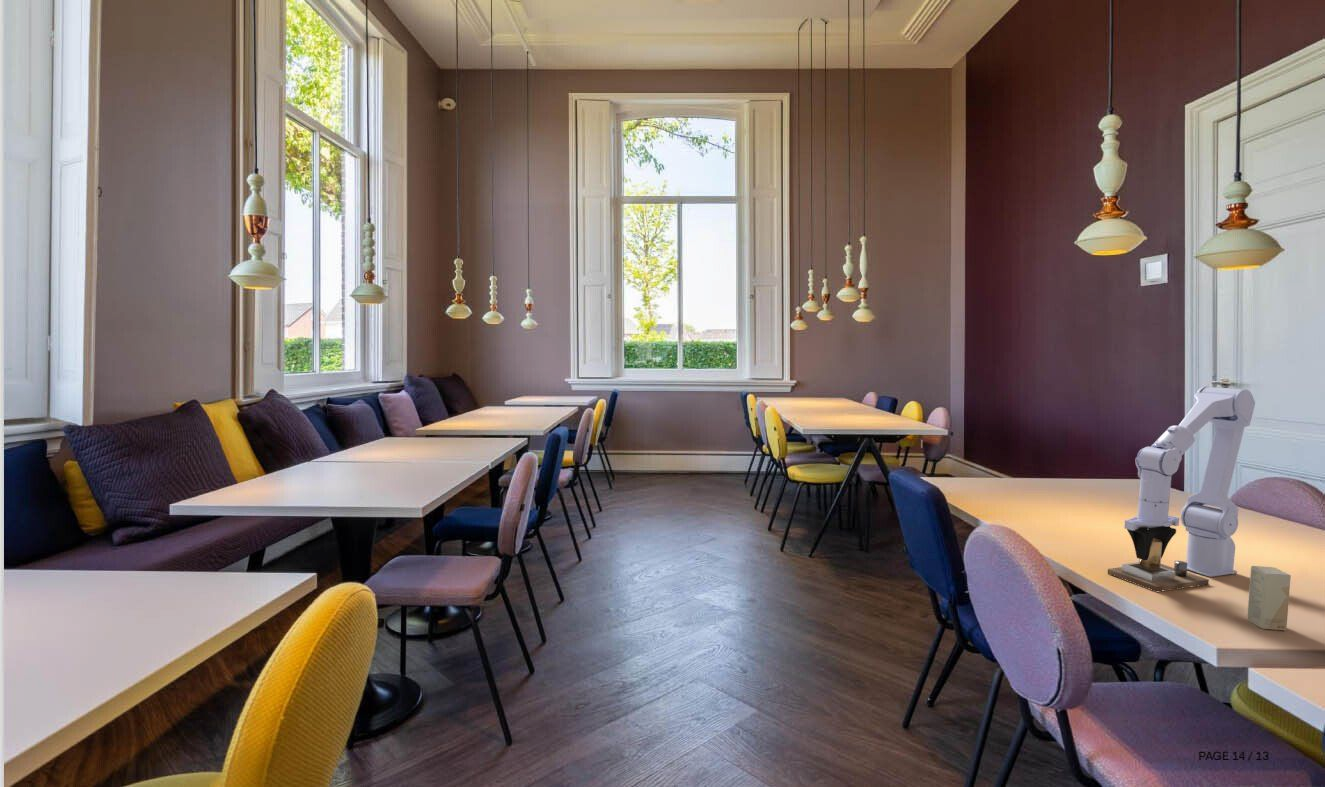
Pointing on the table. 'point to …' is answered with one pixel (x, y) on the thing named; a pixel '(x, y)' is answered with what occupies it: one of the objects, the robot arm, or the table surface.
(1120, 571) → the fitting board
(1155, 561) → the cylinder
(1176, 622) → the table surface
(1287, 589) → the box
